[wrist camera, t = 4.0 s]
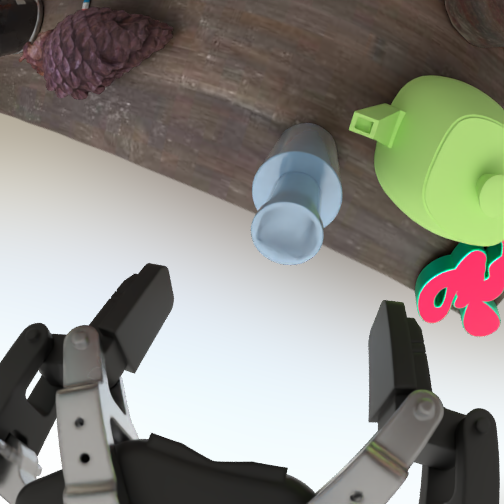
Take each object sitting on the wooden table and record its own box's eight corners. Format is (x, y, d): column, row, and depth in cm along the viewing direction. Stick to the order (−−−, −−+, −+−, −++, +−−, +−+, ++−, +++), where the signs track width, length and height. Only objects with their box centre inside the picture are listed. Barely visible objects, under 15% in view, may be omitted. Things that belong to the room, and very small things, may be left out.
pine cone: (180, -18, 20) (155, 11, 15) (184, 57, 29) (168, 107, 24) (34, 17, 18) (-14, 61, 14) (55, 77, 27) (20, 129, 23)
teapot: (320, 164, 28) (314, 226, 18) (365, 37, 20) (396, 11, 10) (475, 236, 27) (520, 313, 17) (526, 137, 19) (600, 183, 9)
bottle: (276, 176, 30) (230, 273, 17) (278, 120, 27) (227, 173, 14) (333, 183, 29) (335, 288, 16) (340, 126, 25) (355, 188, 13)
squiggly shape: (484, 326, 33) (487, 339, 32) (398, 303, 35) (399, 317, 33) (565, 223, 20) (573, 235, 18) (479, 168, 21) (487, 180, 20)
